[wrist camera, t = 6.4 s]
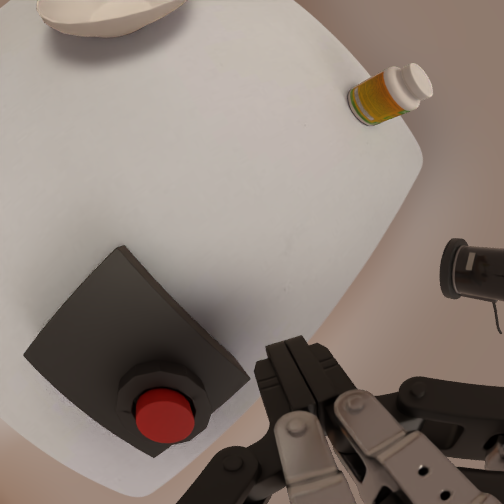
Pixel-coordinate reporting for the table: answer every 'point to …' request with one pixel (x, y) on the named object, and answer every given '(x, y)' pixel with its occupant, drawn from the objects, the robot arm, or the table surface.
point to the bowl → (103, 15)
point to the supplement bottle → (389, 94)
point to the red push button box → (132, 351)
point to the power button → (164, 415)
